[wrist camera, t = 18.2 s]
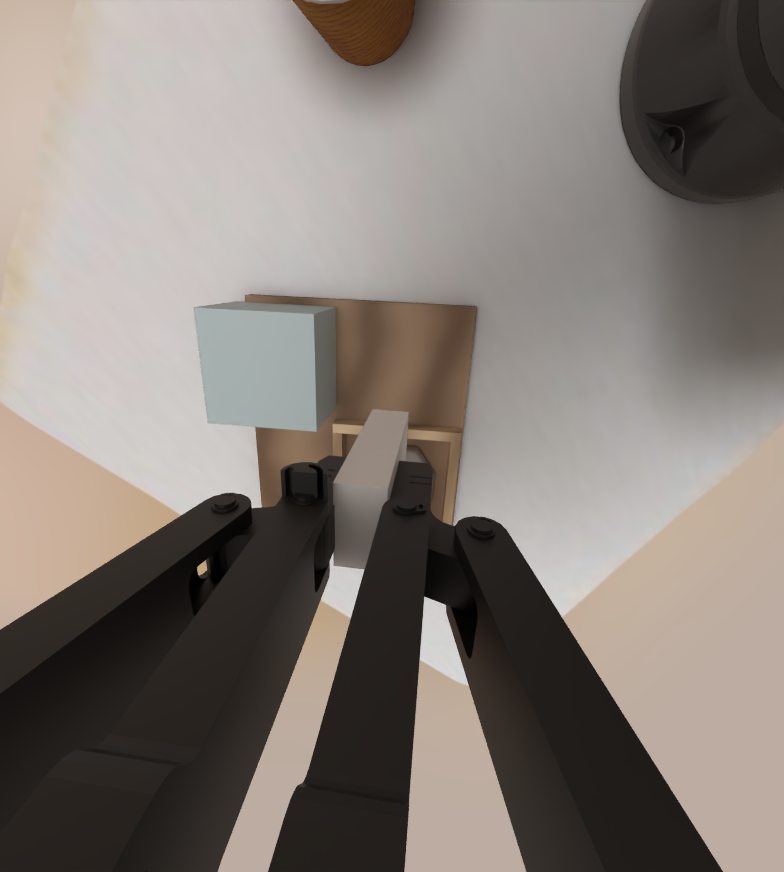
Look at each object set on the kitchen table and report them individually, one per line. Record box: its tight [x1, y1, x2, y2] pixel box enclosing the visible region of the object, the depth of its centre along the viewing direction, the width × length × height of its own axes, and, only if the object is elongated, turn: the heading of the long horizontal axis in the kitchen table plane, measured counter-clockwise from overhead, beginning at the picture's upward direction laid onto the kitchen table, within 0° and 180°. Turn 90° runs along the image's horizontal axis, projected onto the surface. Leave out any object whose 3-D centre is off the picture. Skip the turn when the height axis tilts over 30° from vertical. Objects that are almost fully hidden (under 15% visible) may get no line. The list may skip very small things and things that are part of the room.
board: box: [245, 294, 477, 525], centre depth 35 cm, size 18×20×4 cm
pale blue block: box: [194, 302, 337, 432], centre depth 31 cm, size 8×8×6 cm
